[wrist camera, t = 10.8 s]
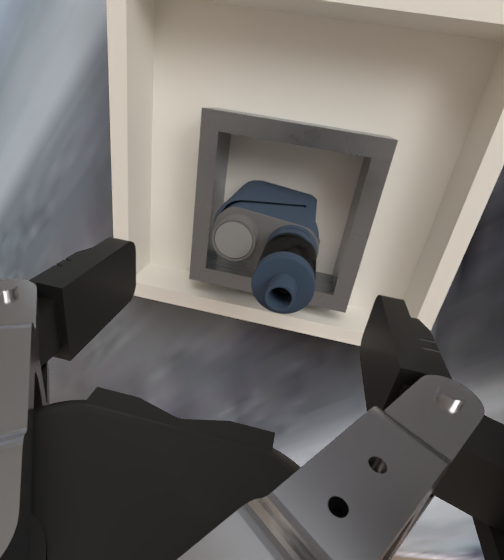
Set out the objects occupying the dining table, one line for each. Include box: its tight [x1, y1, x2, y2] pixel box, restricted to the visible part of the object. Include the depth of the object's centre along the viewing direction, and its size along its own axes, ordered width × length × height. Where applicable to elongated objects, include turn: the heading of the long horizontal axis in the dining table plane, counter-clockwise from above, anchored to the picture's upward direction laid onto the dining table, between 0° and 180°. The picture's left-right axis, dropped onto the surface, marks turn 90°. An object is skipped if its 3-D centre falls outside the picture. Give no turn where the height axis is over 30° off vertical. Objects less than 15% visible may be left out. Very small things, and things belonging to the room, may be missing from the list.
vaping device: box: [212, 180, 320, 314], centre depth 18 cm, size 3×5×12 cm, turn 75°
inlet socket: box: [189, 108, 398, 313], centre depth 22 cm, size 10×10×3 cm
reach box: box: [106, 0, 504, 346], centre depth 21 cm, size 18×20×4 cm
